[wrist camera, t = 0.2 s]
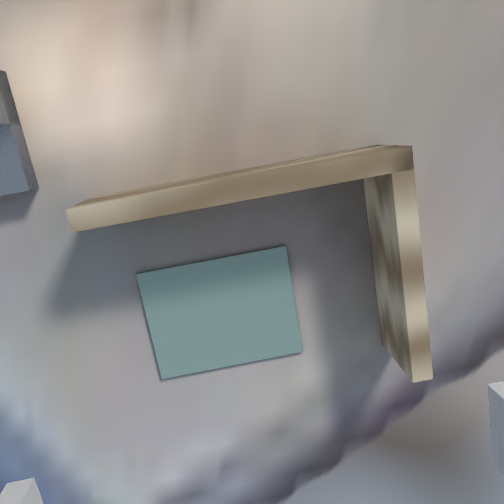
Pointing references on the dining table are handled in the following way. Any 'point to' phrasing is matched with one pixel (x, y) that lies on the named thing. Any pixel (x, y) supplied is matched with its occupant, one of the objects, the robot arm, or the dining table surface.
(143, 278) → the mat
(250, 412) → the dining table surface
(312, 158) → the wooden corner frame
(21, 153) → the angle block
